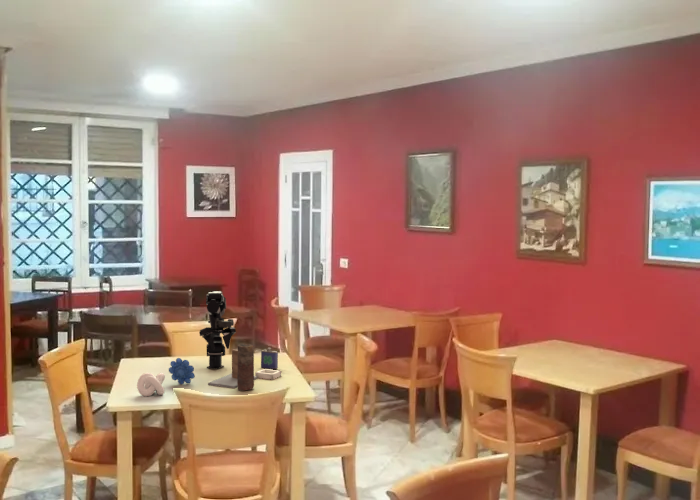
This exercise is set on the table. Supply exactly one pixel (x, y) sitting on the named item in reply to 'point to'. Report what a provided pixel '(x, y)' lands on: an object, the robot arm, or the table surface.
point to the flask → (269, 359)
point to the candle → (245, 367)
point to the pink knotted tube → (150, 384)
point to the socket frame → (268, 374)
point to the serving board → (226, 381)
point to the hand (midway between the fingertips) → (220, 349)
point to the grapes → (181, 371)
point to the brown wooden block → (234, 363)
